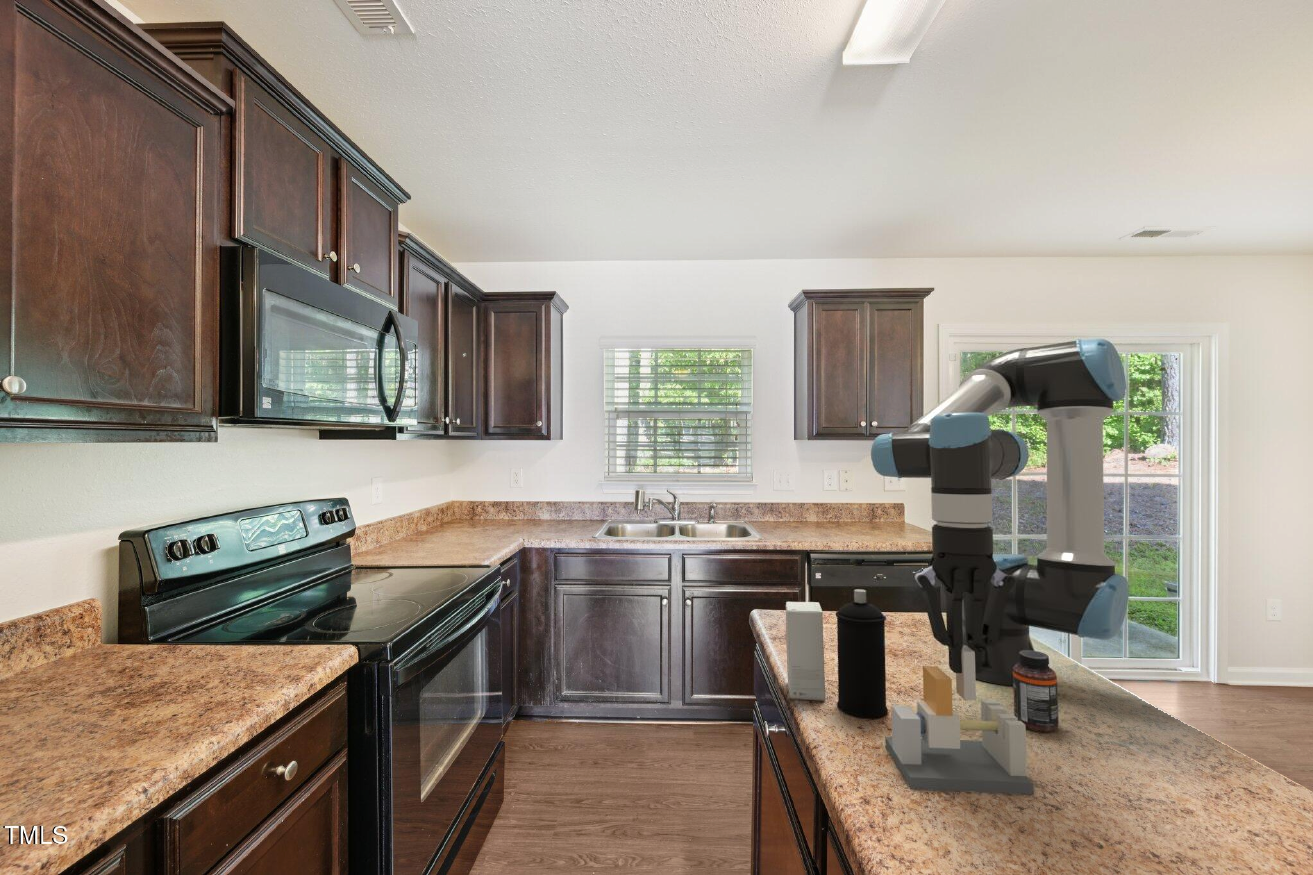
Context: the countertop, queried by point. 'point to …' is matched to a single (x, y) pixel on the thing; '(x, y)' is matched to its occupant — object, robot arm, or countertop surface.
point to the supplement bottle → (1035, 692)
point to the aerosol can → (861, 659)
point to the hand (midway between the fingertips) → (966, 696)
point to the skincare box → (805, 650)
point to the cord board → (963, 753)
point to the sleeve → (938, 710)
